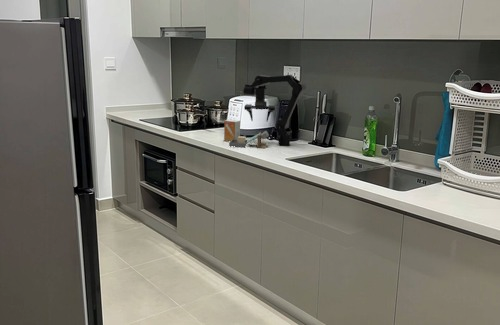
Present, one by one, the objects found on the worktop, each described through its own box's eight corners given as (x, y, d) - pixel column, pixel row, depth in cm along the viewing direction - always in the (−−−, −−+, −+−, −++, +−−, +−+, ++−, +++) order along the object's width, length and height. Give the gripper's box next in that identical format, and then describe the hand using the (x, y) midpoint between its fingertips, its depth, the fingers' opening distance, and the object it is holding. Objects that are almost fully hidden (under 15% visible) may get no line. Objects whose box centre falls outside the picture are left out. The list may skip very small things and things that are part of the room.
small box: (223, 141, 301) (224, 120, 298) (229, 139, 306) (229, 119, 303) (234, 142, 297) (235, 121, 294) (240, 141, 302) (240, 120, 300)
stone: (245, 136, 289) (238, 136, 290) (244, 137, 285) (237, 137, 285) (245, 144, 290) (238, 143, 291) (244, 145, 286) (237, 145, 286)
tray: (246, 143, 294) (246, 139, 293) (245, 147, 283) (245, 143, 282) (231, 143, 295) (231, 139, 294) (229, 146, 283) (229, 142, 283)
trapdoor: (268, 134, 290) (265, 128, 289) (268, 136, 282) (264, 131, 281) (251, 144, 292) (248, 139, 292) (250, 147, 284) (246, 142, 283)
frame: (266, 144, 294) (266, 132, 292) (265, 148, 281) (265, 135, 279) (258, 144, 294) (258, 131, 292) (256, 148, 281) (257, 135, 280)
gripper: (243, 96, 287) (243, 122, 290) (275, 97, 285) (274, 123, 289) (245, 95, 298) (245, 120, 301) (275, 96, 296) (274, 121, 300)
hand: (259, 121), depth 297 cm, fingers open, 9 cm apart
